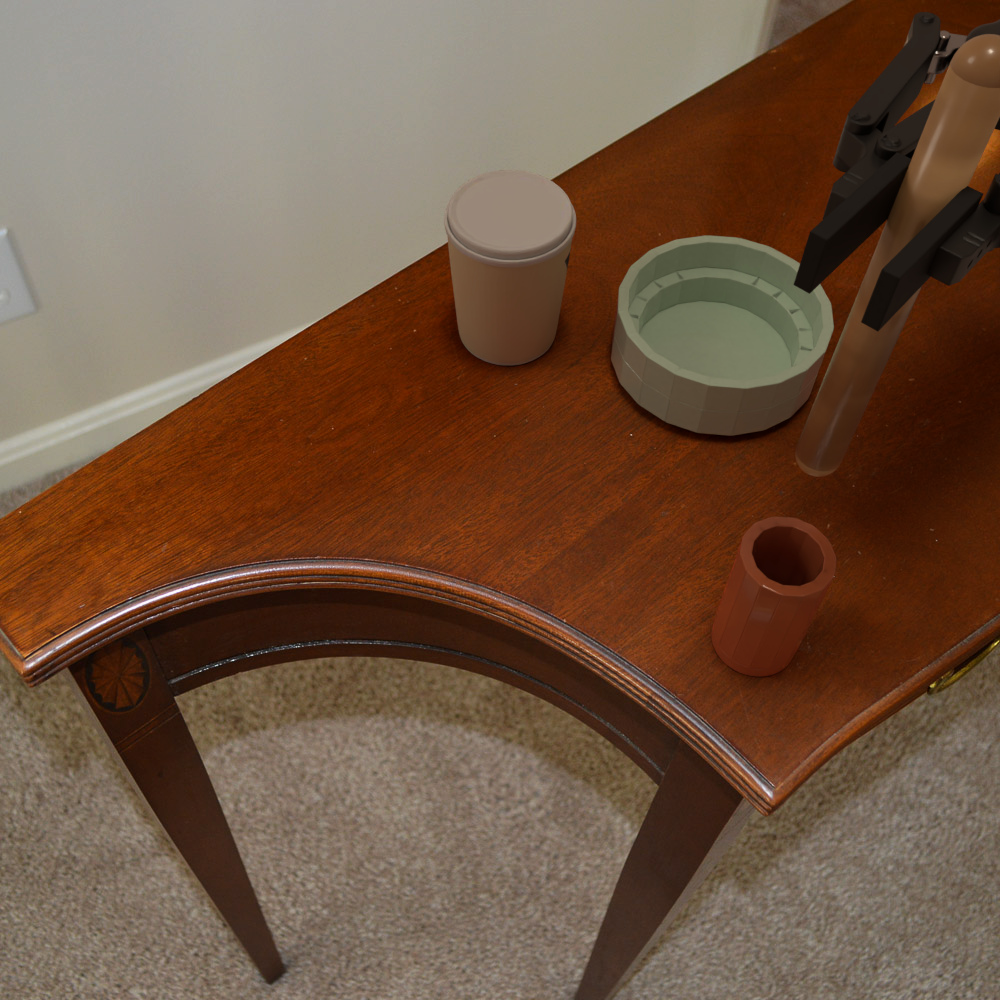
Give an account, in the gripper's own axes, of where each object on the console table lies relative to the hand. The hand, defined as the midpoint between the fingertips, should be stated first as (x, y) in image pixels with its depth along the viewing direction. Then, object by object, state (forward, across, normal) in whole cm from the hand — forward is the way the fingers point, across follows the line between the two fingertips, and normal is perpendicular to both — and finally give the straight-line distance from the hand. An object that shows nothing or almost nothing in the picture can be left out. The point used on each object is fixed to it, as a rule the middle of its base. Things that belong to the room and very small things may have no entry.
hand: (845, 281), depth 41 cm
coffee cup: (-15, +29, -34) cm, 47 cm away
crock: (-5, -1, -34) cm, 34 cm away
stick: (-6, 0, -17) cm, 18 cm away
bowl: (-23, +15, -34) cm, 43 cm away
